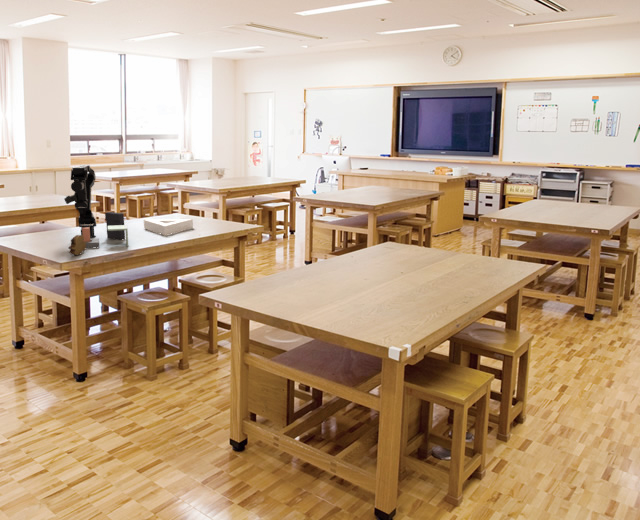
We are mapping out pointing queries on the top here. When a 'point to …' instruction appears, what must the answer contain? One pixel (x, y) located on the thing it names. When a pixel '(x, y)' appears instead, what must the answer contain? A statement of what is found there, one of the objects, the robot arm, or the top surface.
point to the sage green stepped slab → (119, 227)
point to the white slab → (168, 225)
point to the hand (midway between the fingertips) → (82, 218)
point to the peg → (86, 234)
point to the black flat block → (113, 220)
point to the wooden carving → (77, 245)
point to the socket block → (92, 243)
